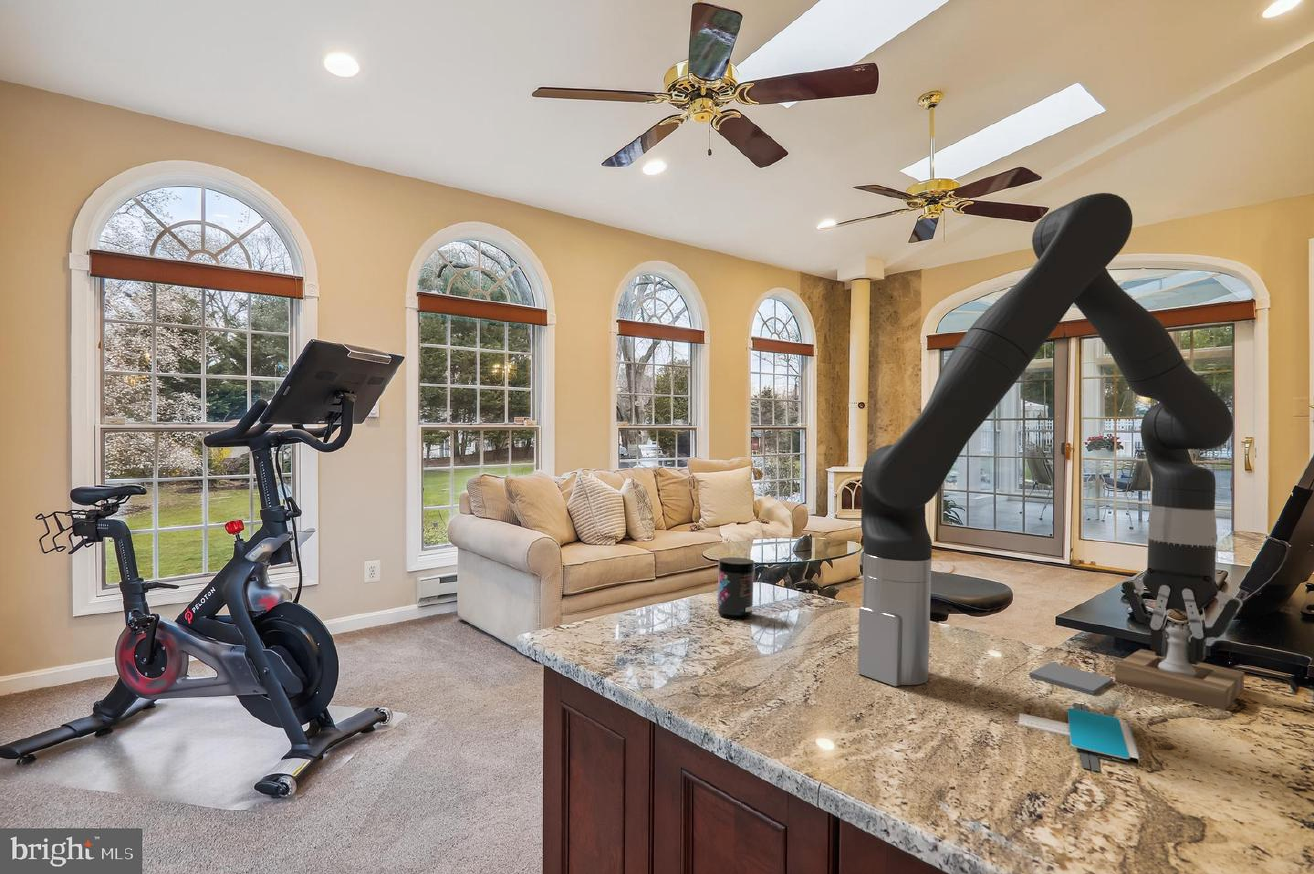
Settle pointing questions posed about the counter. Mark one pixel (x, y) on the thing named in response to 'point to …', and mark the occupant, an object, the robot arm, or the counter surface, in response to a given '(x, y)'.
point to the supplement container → (735, 588)
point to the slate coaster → (1071, 678)
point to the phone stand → (1090, 735)
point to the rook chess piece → (1177, 650)
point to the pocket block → (1181, 680)
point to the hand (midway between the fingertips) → (1177, 658)
